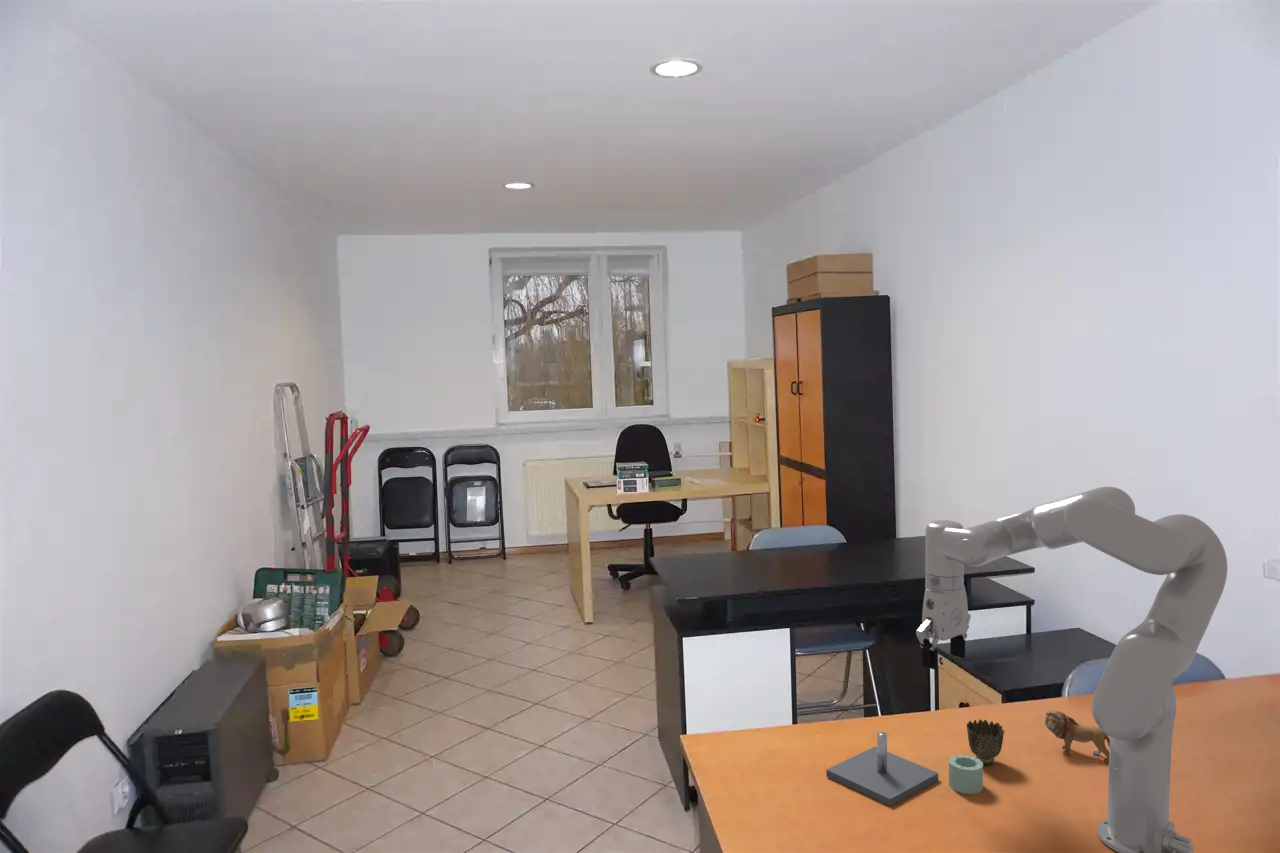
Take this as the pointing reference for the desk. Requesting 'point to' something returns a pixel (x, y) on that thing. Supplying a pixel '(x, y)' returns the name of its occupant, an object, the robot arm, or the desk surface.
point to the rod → (881, 752)
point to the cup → (985, 740)
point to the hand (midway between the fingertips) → (943, 661)
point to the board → (882, 776)
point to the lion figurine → (1076, 733)
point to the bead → (966, 774)
